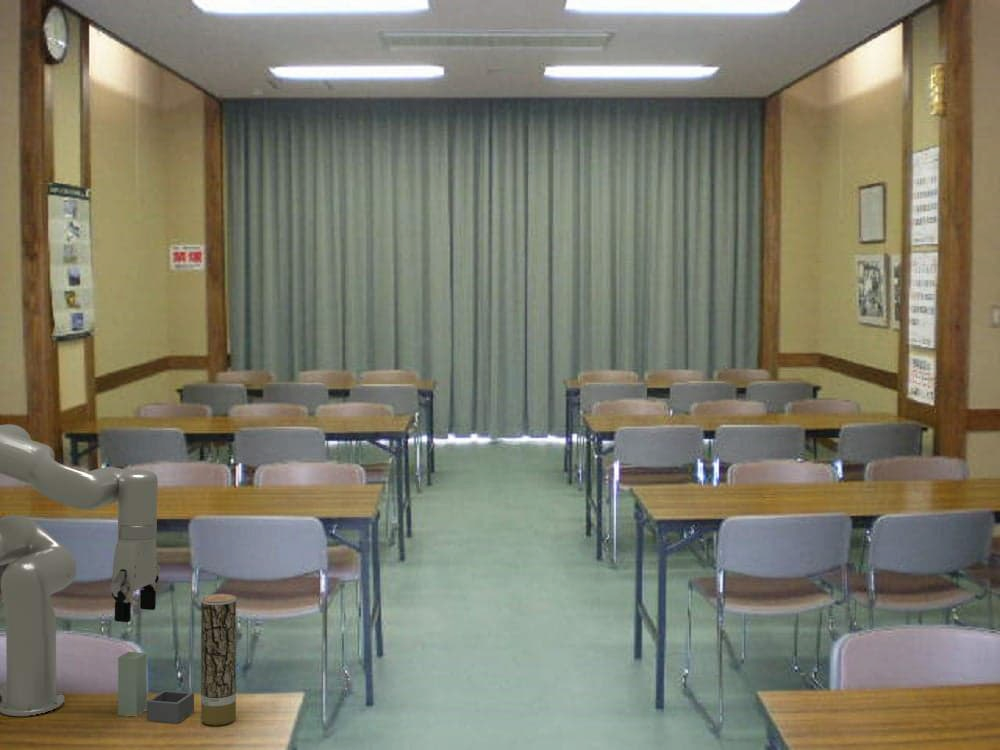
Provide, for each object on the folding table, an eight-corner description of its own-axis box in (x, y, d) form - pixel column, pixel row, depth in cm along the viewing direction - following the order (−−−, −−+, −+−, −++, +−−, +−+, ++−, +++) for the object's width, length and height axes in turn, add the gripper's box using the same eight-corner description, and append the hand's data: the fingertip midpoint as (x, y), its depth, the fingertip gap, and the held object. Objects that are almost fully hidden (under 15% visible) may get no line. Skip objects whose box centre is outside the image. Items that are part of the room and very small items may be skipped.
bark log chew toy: (226, 728, 219) (227, 603, 218) (195, 725, 220) (195, 601, 219) (241, 716, 226) (241, 595, 224) (210, 713, 227) (210, 593, 226)
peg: (118, 715, 225) (118, 657, 225) (128, 709, 229) (128, 651, 229) (136, 717, 224) (136, 658, 224) (146, 710, 228) (146, 653, 228)
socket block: (146, 720, 222) (146, 701, 222) (163, 709, 229) (163, 690, 229) (177, 723, 221) (177, 704, 221) (193, 712, 228) (193, 692, 228)
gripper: (142, 523, 234) (140, 603, 235) (96, 538, 217) (94, 624, 218) (175, 526, 232) (173, 606, 233) (131, 541, 215) (129, 628, 216)
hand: (135, 615), depth 226 cm, fingers open, 9 cm apart
